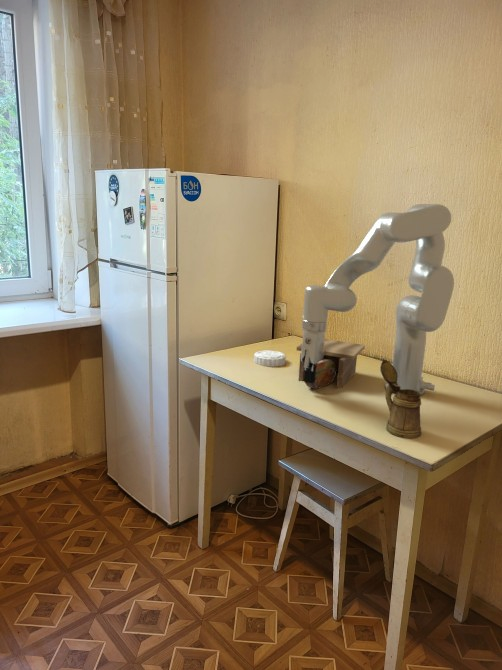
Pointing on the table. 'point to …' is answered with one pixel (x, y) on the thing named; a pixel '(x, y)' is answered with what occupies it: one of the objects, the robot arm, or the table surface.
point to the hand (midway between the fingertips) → (309, 381)
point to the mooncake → (269, 358)
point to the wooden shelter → (338, 359)
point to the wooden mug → (401, 405)
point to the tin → (323, 374)
